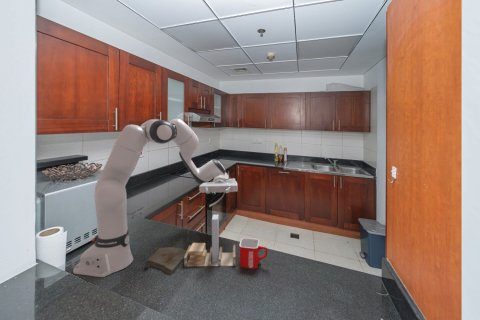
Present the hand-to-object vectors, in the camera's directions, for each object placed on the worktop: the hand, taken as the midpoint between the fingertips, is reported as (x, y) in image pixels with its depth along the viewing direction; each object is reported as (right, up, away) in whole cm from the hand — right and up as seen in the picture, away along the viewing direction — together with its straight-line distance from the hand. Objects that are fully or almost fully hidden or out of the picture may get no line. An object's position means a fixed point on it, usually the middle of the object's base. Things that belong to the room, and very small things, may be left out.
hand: (217, 191), depth 102 cm
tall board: (0, -29, -9) cm, 31 cm away
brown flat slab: (-22, -31, -10) cm, 39 cm away
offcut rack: (-2, -31, -8) cm, 32 cm away
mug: (+17, -31, -11) cm, 37 cm away
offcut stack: (-8, -29, -9) cm, 32 cm away
